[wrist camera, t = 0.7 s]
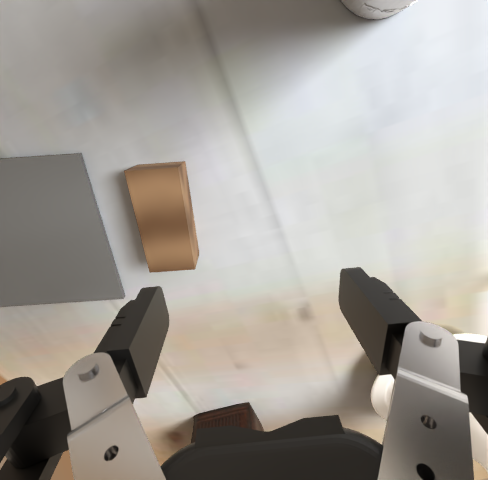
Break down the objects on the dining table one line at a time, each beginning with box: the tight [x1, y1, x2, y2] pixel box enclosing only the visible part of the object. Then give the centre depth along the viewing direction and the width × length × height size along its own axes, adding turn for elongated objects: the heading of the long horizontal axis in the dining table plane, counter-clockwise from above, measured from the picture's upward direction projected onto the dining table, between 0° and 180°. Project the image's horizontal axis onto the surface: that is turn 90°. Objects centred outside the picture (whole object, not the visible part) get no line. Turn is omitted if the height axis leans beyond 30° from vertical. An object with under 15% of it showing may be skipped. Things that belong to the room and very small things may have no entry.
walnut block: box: [124, 161, 199, 272], centre depth 28 cm, size 11×5×4 cm, turn 4°
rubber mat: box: [0, 153, 125, 307], centre depth 30 cm, size 18×18×1 cm
